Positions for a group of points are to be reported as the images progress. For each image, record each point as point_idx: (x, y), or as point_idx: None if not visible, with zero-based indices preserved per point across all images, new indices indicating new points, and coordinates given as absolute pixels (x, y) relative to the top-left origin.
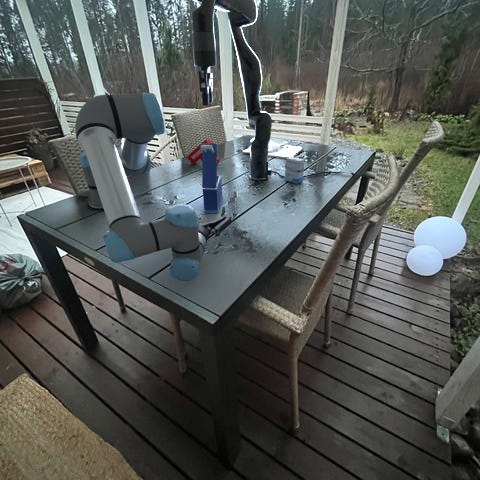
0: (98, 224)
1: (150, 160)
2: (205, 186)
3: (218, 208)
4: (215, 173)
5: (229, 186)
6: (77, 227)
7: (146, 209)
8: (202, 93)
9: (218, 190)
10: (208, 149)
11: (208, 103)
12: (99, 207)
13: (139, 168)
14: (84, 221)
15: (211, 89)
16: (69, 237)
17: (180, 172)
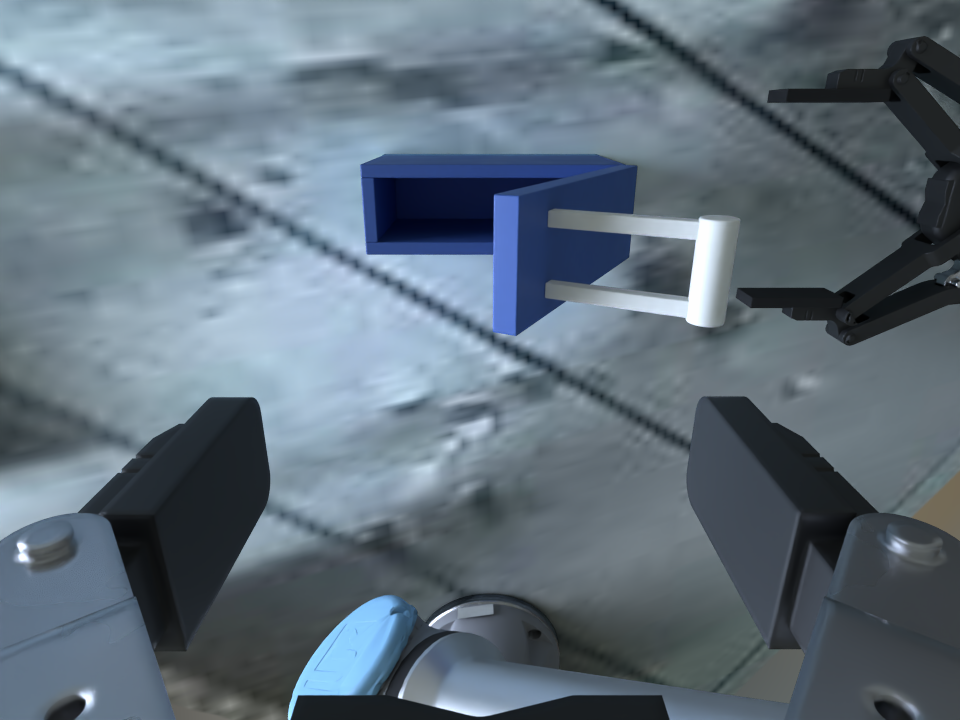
0: (674, 608)
1: (396, 628)
2: (629, 237)
3: (566, 155)
4: (609, 179)
5: (204, 124)
6: (691, 657)
7: (549, 494)
8: (784, 640)
9: (537, 161)
10: (540, 268)
11: (754, 407)
12: (559, 656)
13: (489, 641)
14: (648, 656)
15: (121, 554)
16: (758, 649)
17: (43, 467)
